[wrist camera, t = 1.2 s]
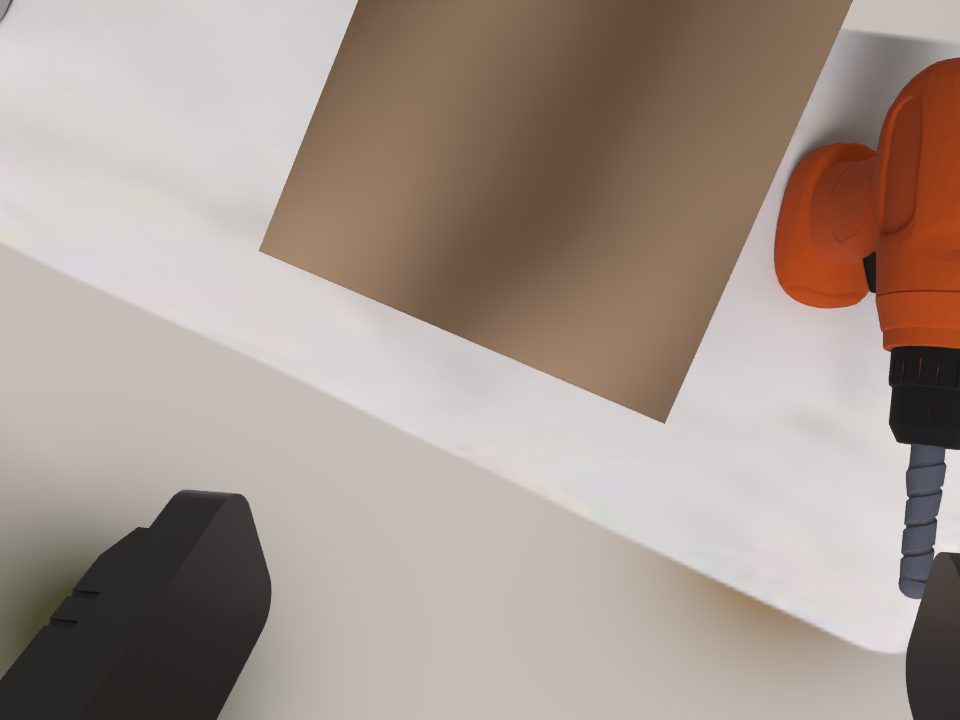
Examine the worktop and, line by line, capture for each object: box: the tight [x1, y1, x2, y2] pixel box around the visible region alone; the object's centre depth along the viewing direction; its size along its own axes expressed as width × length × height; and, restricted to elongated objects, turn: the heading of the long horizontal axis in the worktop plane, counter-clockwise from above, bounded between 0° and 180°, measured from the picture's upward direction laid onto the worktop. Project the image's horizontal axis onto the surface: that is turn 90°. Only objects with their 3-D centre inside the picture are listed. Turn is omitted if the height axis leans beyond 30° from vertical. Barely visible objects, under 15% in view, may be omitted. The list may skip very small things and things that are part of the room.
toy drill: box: [774, 57, 960, 599], centre depth 32 cm, size 5×19×15 cm, turn 172°
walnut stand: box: [259, 0, 853, 424], centre depth 29 cm, size 10×11×22 cm
